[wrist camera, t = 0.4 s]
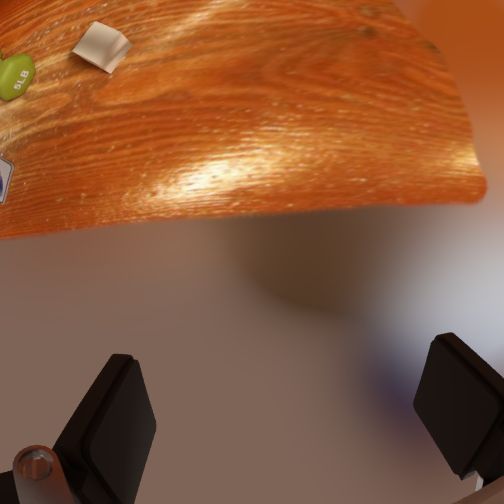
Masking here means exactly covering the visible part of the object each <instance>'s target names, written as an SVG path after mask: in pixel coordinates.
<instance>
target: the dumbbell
mask: <svg viewBox="0 0 504 504" xmlns="http://www.w3.org/2000/svg"><path fill="white" fill-rule="evenodd" d="M1 58H2V53H1V50H0V98H1V99H3V100H5V101H8V100H11V99H14V98H16V97H18V96H20V95H22V94H23V93H24V92H25V91H26V90H27V88H28V86H29V84H30V82H31V81H32V79H33V77H34V75H35V66H34V63H33V60H32V58H31V56H30V55H28V54H25V53H21V54H17V55H14V56H11V57H9V58H7V59H5V60H2V59H1Z"/></svg>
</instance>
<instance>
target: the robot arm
mask: <svg viewBox="0 0 504 504" xmlns="http://www.w3.org/2000/svg"><path fill="white" fill-rule="evenodd" d="M413 406H414V409H415V411H416V413H417V414H418V416H419V417H420V419H421V421H422V422H423V424H424V425H425V427H426V428H427V430H428V432H429V433H430V435H431V436H432V438H433V440H434V441H435V443H436V445H437V446H438V448H439V449H440V451H441V453H442V454H443V456H444V458H445V459H446V461H447V462H448V464H449V466H450V467H451V469H452V471H453V472H454V473H455V474H457V475H459V477H460V479H461V480H464V479H466V478H468V477H470V476H472V475H474V473H475V472H476V471H477V472H478V474H479V476H478V481H477V485H476V490H475V492H474V493H473V494H471V495H469V496H467V497H465V498H463V499H461V500H459V501H457V502H455V503H453V504H504V378H502V376H501V375H500V374H498V373H497V372H496V371H495V370H494V369H493V368H492V367H491V366H490V365H489V364H487V362H486V361H484V360H483V359H482V358H481V357H480V356H479V355H478V354H477V353H476V352H474V351H473V350H472V349H471V348H470V347H469V346H468V345H467V344H465V343H464V342H463V341H462V340H461V339H460V338H459V337H457V336H456V335H455V334H454V333H452V332H450V333H444V334H440V335H437V336H436V337H435V339H434V340H433V341H432V342H431V345H430V349H429V352H428V356H427V360H426V363H425V367H424V370H423V373H422V377H421V380H420V383H419V386H418V389H417V393H416V395H415V398H414V402H413ZM155 432H156V420H155V417H154V414H153V410H152V407H151V404H150V401H149V397H148V394H147V391H146V387H145V384H144V380H143V377H142V372H141V368H140V365H139V362H138V360H134V359H133V357H132V356H131V355H127V354H113V355H112V356H111V357H110V359H109V360H108V362H107V363H106V365H105V366H104V368H103V369H102V371H101V372H100V373H99V375H98V377H97V378H96V379H95V381H94V383H93V384H92V386H91V387H90V389H89V390H88V392H87V393H86V395H85V396H84V398H83V399H82V401H81V402H80V404H79V406H78V407H77V409H76V410H75V412H74V414H73V415H72V417H71V418H70V420H69V421H68V423H67V425H66V426H65V428H64V430H63V431H62V433H61V435H60V436H59V438H58V439H57V441H56V443H55V445H54V447H53V448H52V450H51V449H50V448H48V447H46V446H41V445H33V446H29V447H26V448H24V449H23V450H21V451H20V452H19V453H18V454H17V455H16V457H15V458H14V461H13V470H11V471H8V472H4V473H0V504H134V502H135V498H136V495H137V491H138V487H139V484H140V481H141V477H142V474H143V471H144V467H145V464H146V461H147V458H148V454H149V451H150V448H151V445H152V441H153V438H154V435H155Z"/></svg>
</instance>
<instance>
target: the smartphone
mask: <svg viewBox="0 0 504 504" xmlns="http://www.w3.org/2000/svg"><path fill="white" fill-rule="evenodd" d="M13 171H14V165H13V164H12V163H11V162H9V161H8V160H6V159H4V158H3V157H1V156H0V203H1V204H4V203H5V200H6V196H7V192H8V186H9V183H10V181H11V176H12V174H13Z"/></svg>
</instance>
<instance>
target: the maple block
mask: <svg viewBox="0 0 504 504" xmlns="http://www.w3.org/2000/svg"><path fill="white" fill-rule="evenodd" d="M131 47H132V44H131V43H130V42H129V41H128V40H127V39H126V38H125V37H124V36H123V35H122V33H121V32H120V31H117V30H115V29H113V28H110V27H108V26H106V25H103V24H101V23H98V22H96V21H95V22H94V23H93V25H92V26H91V27H90V28H89V30H88V31H87V32H86V33H85V35H84V36H83V37H82V39H81V40H80V41H79V43H78V44H77V45H76V47H75V48H74V49H73V51H72V52H74V53H76V54H77V55H79V56H80V57H82V58H83V59H85V60H86V61H88V62H90V63H92V64H94V65H95V66H97V67H99V68H101V69H103V70H105V71H106V72H108V73H110V74H111V73H112V71H113V70H114V69H115V67H116V66H117V65H118V63H119V62H120V61H121V59H122V58H123V57H124V55H125V54H126V53H127V52H128V50H129V49H130V48H131Z"/></svg>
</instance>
